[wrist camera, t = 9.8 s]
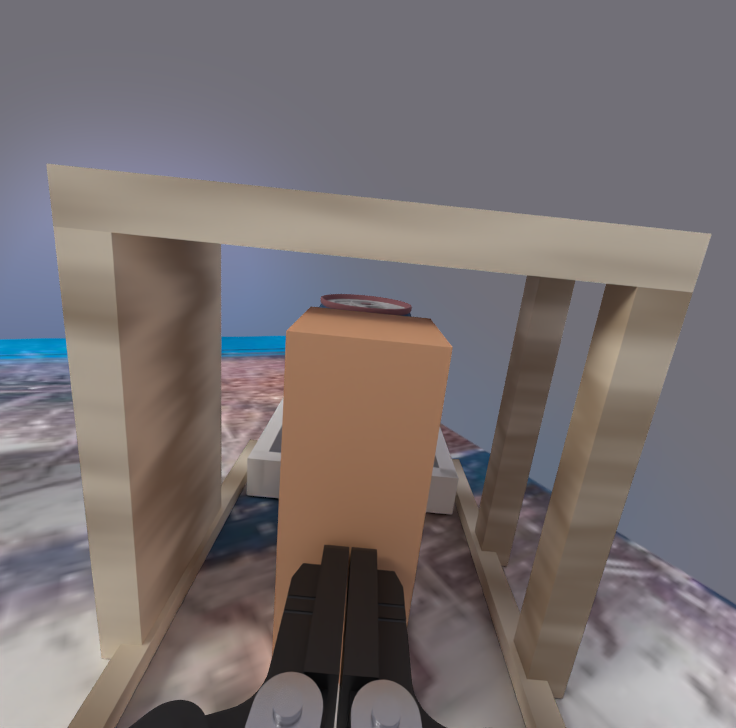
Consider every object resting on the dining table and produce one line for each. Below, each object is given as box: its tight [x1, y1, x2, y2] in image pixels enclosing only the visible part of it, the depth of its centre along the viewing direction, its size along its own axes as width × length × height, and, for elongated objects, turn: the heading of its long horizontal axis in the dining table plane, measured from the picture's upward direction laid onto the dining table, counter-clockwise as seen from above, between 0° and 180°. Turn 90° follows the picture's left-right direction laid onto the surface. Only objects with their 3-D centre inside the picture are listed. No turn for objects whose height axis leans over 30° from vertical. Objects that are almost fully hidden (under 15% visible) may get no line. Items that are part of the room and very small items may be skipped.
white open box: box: [247, 307, 459, 728], centre depth 23 cm, size 24×12×13 cm, turn 179°
